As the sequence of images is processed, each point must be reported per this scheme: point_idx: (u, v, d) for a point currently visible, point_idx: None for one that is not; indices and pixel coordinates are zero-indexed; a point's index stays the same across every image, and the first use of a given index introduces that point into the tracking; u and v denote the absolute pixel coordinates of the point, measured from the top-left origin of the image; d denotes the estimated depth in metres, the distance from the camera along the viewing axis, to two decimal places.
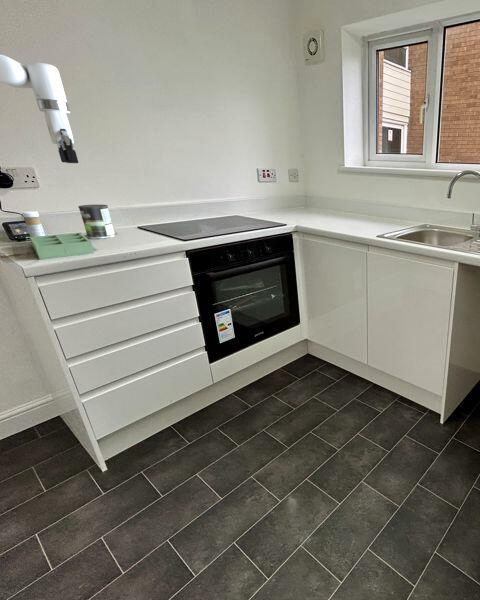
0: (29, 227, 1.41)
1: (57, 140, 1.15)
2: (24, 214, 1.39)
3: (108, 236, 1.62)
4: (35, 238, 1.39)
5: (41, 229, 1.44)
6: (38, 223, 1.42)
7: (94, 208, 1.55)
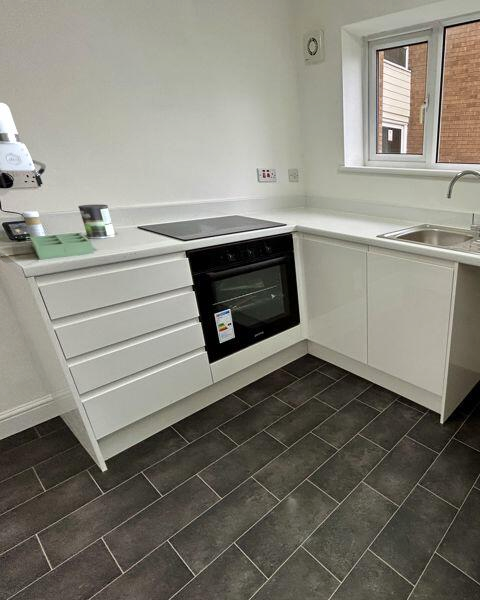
0: (29, 227, 1.41)
1: (34, 168, 1.37)
2: (24, 214, 1.39)
3: (108, 236, 1.62)
4: (35, 238, 1.39)
5: (41, 229, 1.44)
6: (38, 223, 1.42)
7: (94, 208, 1.55)
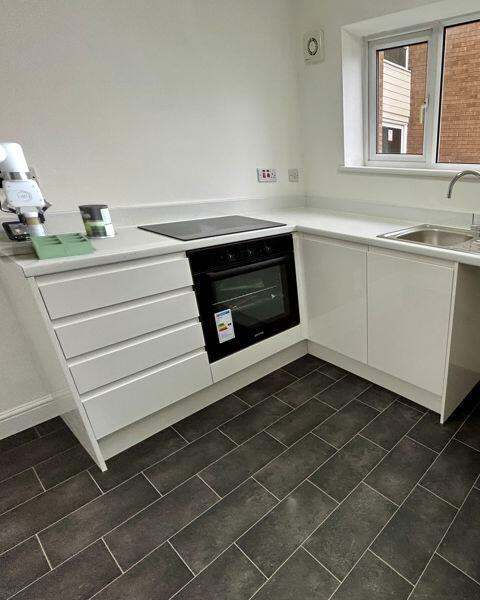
0: (29, 227, 1.41)
1: None
2: (24, 214, 1.39)
3: (108, 236, 1.62)
4: (35, 238, 1.39)
5: (41, 229, 1.44)
6: (38, 223, 1.42)
7: (94, 208, 1.55)
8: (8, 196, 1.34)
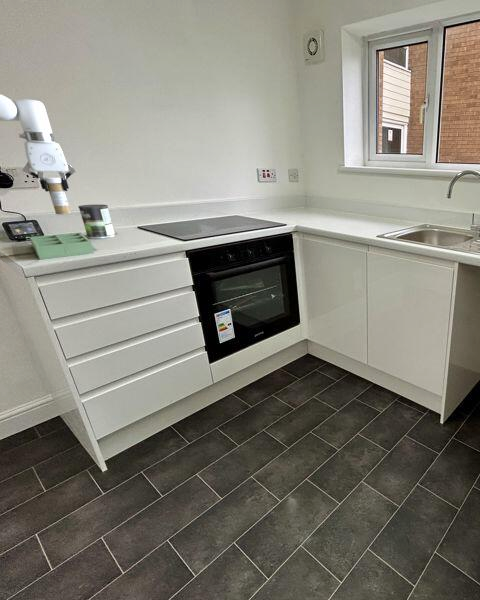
0: (52, 194, 1.31)
1: (68, 168, 1.32)
2: (47, 179, 1.29)
3: (108, 236, 1.62)
4: (35, 238, 1.39)
5: (64, 197, 1.34)
6: (61, 190, 1.32)
7: (94, 208, 1.55)
8: (30, 158, 1.24)
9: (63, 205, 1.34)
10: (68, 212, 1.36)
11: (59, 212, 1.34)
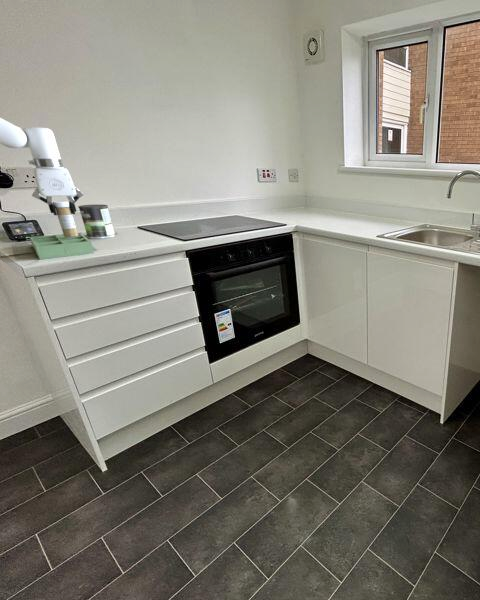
0: (60, 217, 1.34)
1: (75, 192, 1.35)
2: (55, 204, 1.32)
3: (108, 236, 1.62)
4: (35, 238, 1.39)
5: (72, 220, 1.37)
6: (69, 213, 1.35)
7: (94, 208, 1.55)
8: (40, 184, 1.27)
9: (71, 228, 1.37)
10: (76, 234, 1.39)
11: (67, 235, 1.37)
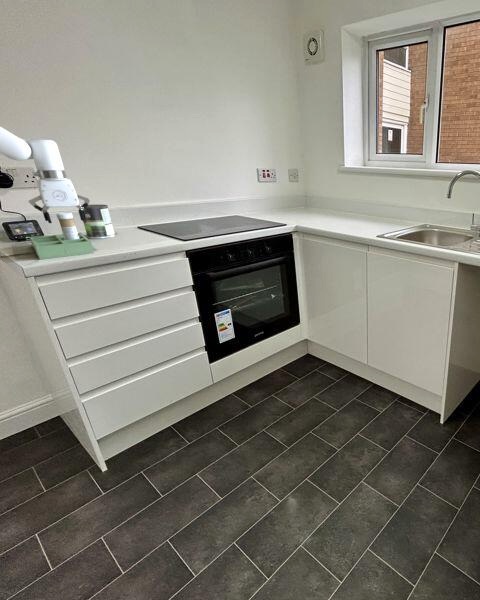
0: (63, 229, 1.36)
1: None
2: (59, 216, 1.34)
3: (108, 236, 1.62)
4: (35, 238, 1.39)
5: (75, 231, 1.39)
6: (72, 225, 1.37)
7: (94, 208, 1.55)
8: (43, 195, 1.29)
9: None
10: None
11: None
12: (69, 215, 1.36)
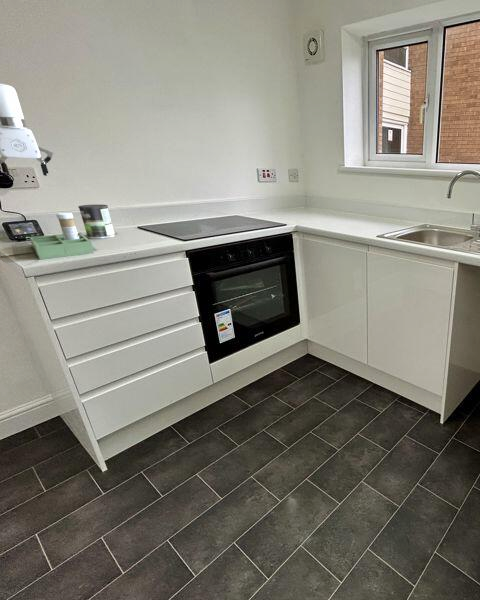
0: (63, 229, 1.36)
1: (40, 156, 1.29)
2: (59, 216, 1.34)
3: (108, 236, 1.62)
4: (35, 238, 1.39)
5: (75, 231, 1.39)
6: (72, 225, 1.37)
7: (94, 208, 1.55)
8: (0, 144, 1.21)
9: None
10: None
11: None
12: (69, 215, 1.36)
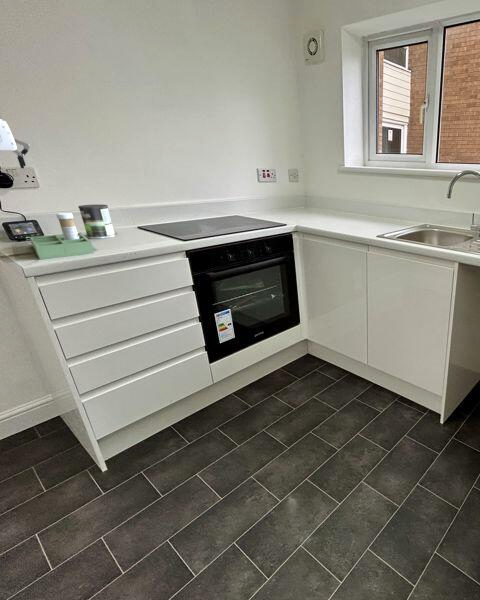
0: (63, 229, 1.36)
1: (16, 148, 1.27)
2: (59, 216, 1.34)
3: (108, 236, 1.62)
4: (35, 238, 1.39)
5: (75, 231, 1.39)
6: (72, 225, 1.37)
7: (94, 208, 1.55)
8: None
9: None
10: None
11: None
12: (69, 215, 1.36)
